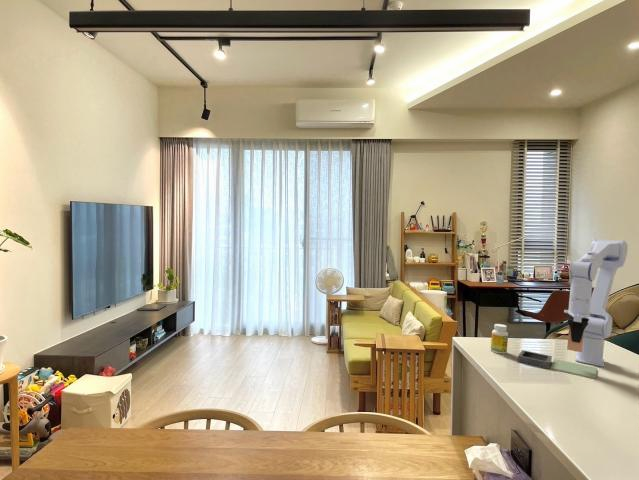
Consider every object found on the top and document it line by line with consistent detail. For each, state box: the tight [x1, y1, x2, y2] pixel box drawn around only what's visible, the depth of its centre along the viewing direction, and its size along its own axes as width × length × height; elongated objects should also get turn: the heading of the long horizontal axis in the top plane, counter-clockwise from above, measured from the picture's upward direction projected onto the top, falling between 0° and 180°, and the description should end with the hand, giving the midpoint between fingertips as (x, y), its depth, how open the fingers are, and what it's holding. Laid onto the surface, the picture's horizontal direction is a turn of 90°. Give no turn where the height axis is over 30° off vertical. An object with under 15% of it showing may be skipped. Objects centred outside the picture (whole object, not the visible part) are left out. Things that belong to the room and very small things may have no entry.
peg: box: [566, 325, 584, 353], centre depth 129 cm, size 4×4×8 cm
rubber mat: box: [550, 358, 597, 380], centre depth 129 cm, size 12×12×1 cm
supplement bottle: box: [490, 323, 509, 355], centre depth 143 cm, size 5×5×10 cm
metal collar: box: [517, 349, 553, 370], centre depth 134 cm, size 9×9×2 cm
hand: (576, 340), depth 129 cm, fingers closed on peg, 4 cm apart
